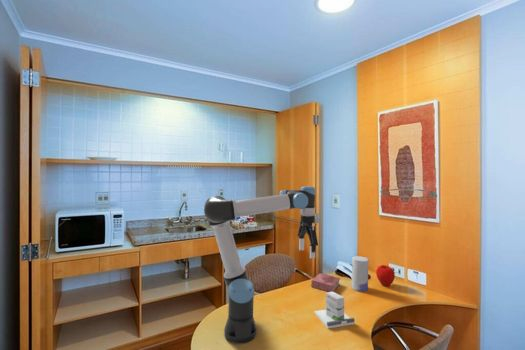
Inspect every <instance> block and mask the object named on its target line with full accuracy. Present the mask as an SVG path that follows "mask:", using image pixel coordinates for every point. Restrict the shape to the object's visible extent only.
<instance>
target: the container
mask: <svg viewBox="0 0 525 350" xmlns="http://www.w3.org/2000/svg"><path fill="white" fill-rule="evenodd" d="M351 261H352V262H351V266H352V267H351V289H352V290H354V291H357V292H361V293H364V292H368V290H369V266H370V265H369V258H368V257H365V256H360V255H355V256H352V260H351Z"/></svg>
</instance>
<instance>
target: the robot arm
mask: <svg viewBox="0 0 525 350" xmlns="http://www.w3.org/2000/svg"><path fill="white" fill-rule="evenodd" d="M292 209H294V210H295V209H298V210H300V222H299V228H298V232H297V237H298V243H299V245H298V250H299V251H305V235H307V236H308V238H309V243H310V245H309V259H316V246H317V247H318V246H319V244H318V235H317V233H316V226H315V225H313V223H315V219H316V216H315V214H316V213H315V212H316V188H315V187H314V186H309V185H307V186H306V185H305V186H302V187H300V189H299V190H298V189H296V190H295V189H284V190H283V189H281V190H280V191H279V194H275V195H269V196H263V197H262V196H261V197H254V198H248V199H247V198H246V199H240V200H235V199H233V198H231V199H226V198H224V197H223V196H221V195H213V196H210V197H209V198H208V199H207V200H205V202H204V209H203V213H204V217H205V218H206V219H207V222H208V226H209V227H210V228H213V233H214V236H215V240H216V243H217V247H218V250H219V253H220V259H221V261H222V263H223V264H222V265H223V268H224V272H223V279H224V282H225V285H226V289H227V290H226V291H227V297H228V300H227V301H228V312H227V313H228V315H227V320H226V323H225V325H224V330H223V331H224V332H223V335H224V337H225V339H226V340H227V341H229V342H230V343H234V344H245V343H249V342H250V341H252V340H254V339H255V337H257V333H258V331H257V330H258V329H257V324H256V322H255V318H254V300H255V299H254V298H255V297H254V295H255V288H254V284H253V282H252V281H250V280H249V277H248V274H247V270H246V268H245V267H244V266H243V265H242V263H241V260H240V257H239V252H238V248H237V245H236V241H235V238H234V234H233V230H232V227H231V223H230V222H231V221H234V220H235V221H236V220H237V218H240V217H247V216H253V215H259V214H261V215H262V214H265V213H267V214H268V213H273V212H277V211H278V212H279V211H285V210H292Z"/></svg>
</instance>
